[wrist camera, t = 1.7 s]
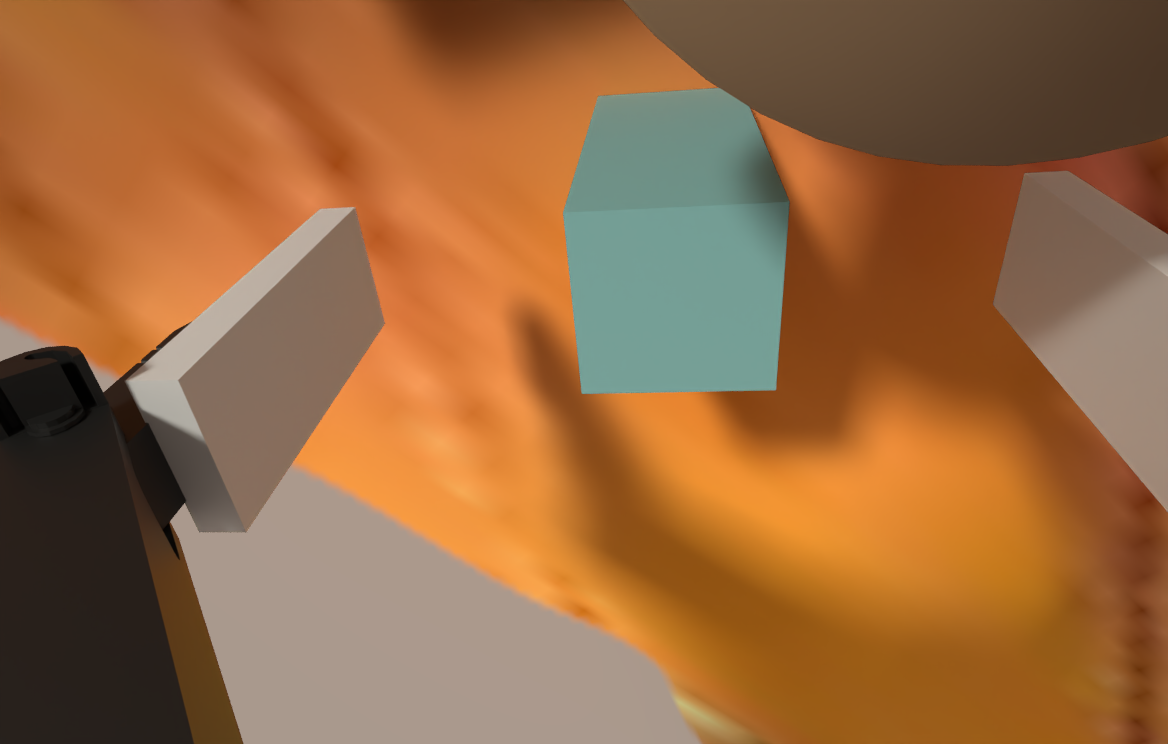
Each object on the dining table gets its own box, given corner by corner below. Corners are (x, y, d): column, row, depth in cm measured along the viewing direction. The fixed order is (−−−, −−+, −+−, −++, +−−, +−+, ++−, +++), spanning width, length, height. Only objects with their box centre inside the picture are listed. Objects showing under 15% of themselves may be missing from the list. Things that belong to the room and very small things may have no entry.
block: (598, 95, 18) (563, 213, 12) (740, 86, 18) (790, 201, 11) (607, 228, 20) (581, 393, 13) (736, 222, 20) (775, 389, 13)
